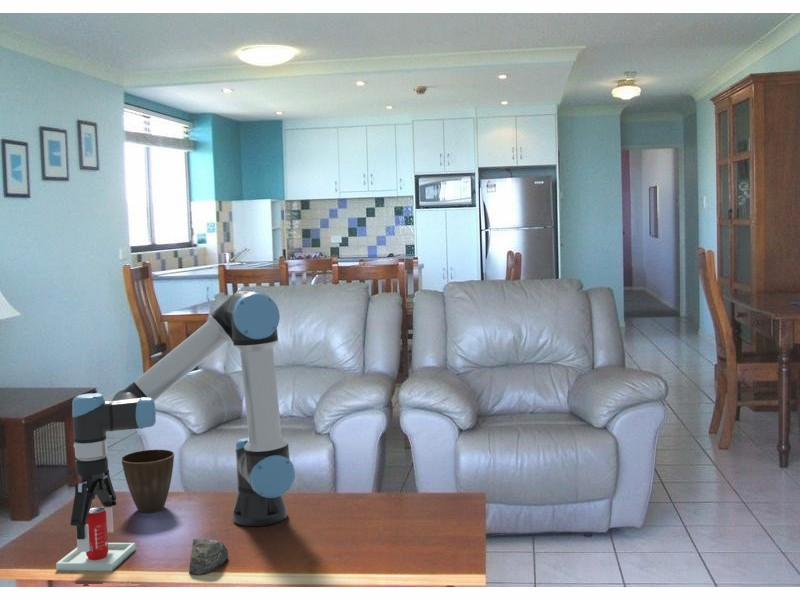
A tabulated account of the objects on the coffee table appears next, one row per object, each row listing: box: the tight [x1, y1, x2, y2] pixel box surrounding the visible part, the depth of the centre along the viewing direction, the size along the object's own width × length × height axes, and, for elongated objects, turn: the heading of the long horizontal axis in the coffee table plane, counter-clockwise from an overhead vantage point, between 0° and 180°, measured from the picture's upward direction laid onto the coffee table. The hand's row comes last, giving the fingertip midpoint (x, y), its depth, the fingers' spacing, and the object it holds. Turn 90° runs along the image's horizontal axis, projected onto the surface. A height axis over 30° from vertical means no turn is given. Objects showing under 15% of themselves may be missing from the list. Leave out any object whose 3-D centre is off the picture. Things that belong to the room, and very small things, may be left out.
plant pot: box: [120, 449, 175, 514], centre depth 253 cm, size 15×15×16 cm
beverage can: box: [86, 506, 109, 560], centre depth 214 cm, size 5×5×12 cm
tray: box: [55, 542, 137, 572], centre depth 214 cm, size 14×14×2 cm
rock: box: [188, 538, 229, 576], centre depth 208 cm, size 13×9×6 cm, turn 6°
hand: (96, 541), depth 214 cm, fingers open, 13 cm apart
